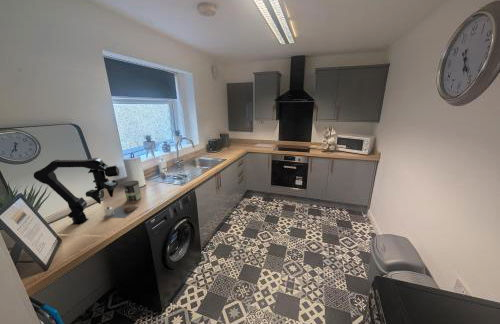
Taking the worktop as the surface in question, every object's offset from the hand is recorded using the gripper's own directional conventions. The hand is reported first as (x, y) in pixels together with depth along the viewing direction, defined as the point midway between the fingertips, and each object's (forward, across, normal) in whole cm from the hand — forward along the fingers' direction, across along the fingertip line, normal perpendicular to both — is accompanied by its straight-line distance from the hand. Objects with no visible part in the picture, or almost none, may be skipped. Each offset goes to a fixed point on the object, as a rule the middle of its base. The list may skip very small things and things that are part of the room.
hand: (106, 200), depth 124 cm
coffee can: (+12, +23, 0) cm, 26 cm away
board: (+12, +4, -5) cm, 13 cm away
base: (+11, +8, -9) cm, 16 cm away
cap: (+11, 0, 0) cm, 11 cm away
